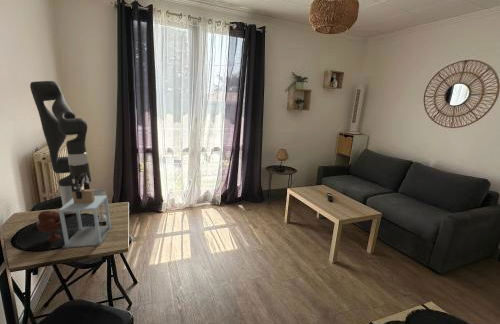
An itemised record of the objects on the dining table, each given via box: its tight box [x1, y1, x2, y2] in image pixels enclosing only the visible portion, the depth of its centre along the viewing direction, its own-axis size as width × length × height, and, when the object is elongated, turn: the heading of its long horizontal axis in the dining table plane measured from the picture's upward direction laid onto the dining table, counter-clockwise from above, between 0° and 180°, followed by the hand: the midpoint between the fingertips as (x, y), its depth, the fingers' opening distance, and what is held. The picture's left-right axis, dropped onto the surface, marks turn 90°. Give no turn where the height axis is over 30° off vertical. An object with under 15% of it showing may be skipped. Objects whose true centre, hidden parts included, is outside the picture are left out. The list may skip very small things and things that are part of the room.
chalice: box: [92, 187, 107, 223], centre depth 139 cm, size 7×7×18 cm
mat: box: [61, 224, 114, 249], centre depth 126 cm, size 18×16×1 cm
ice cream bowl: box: [35, 210, 62, 243], centre depth 121 cm, size 11×11×15 cm
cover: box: [58, 188, 112, 245], centre depth 122 cm, size 15×15×24 cm
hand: (83, 195), depth 120 cm, fingers open, 8 cm apart
